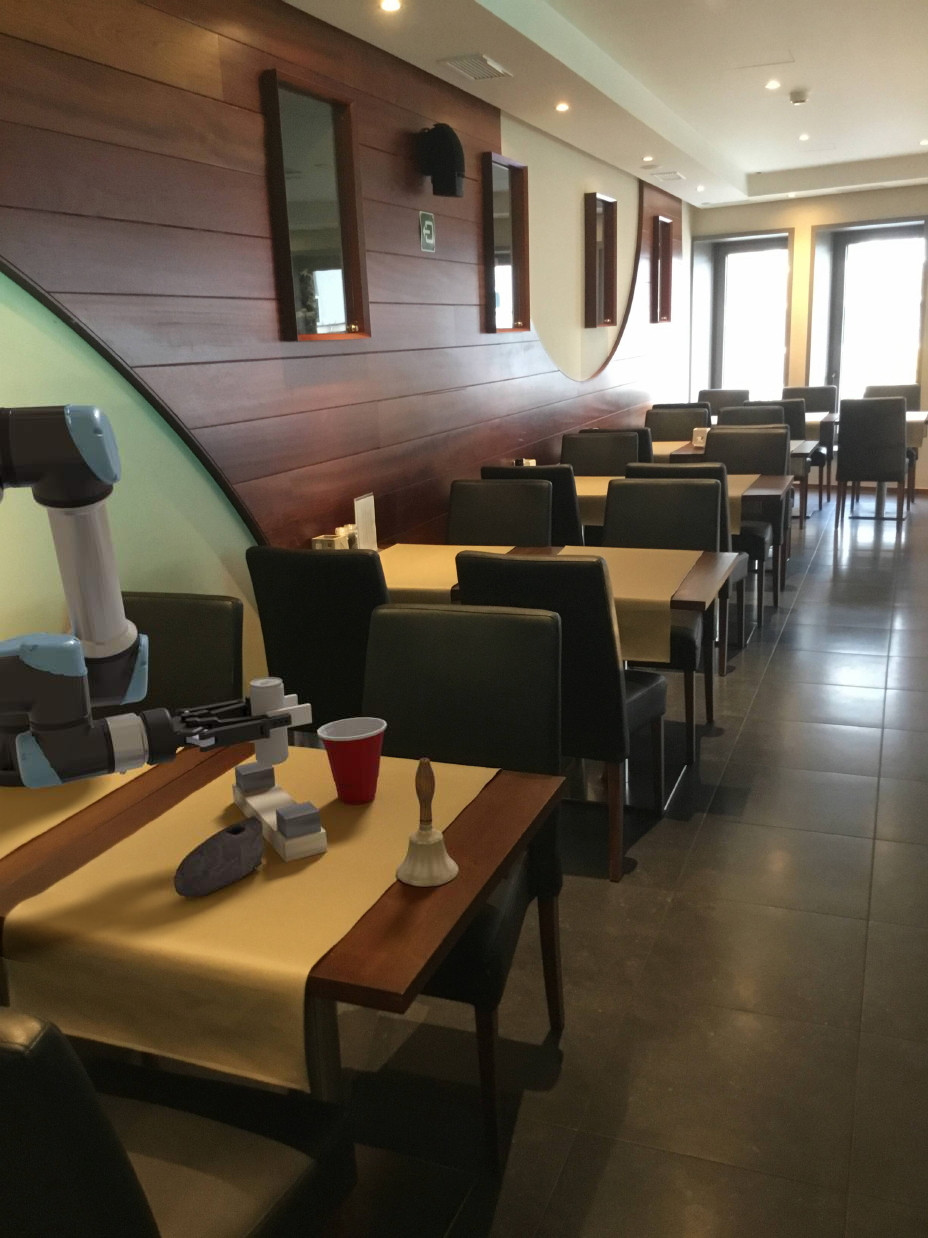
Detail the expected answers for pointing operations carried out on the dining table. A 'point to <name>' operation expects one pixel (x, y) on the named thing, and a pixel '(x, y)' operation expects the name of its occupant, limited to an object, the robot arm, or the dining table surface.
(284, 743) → the beverage can
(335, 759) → the plastic cup
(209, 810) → the dining table surface
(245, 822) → the perforated stone tool
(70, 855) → the dining table surface
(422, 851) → the hand bell
